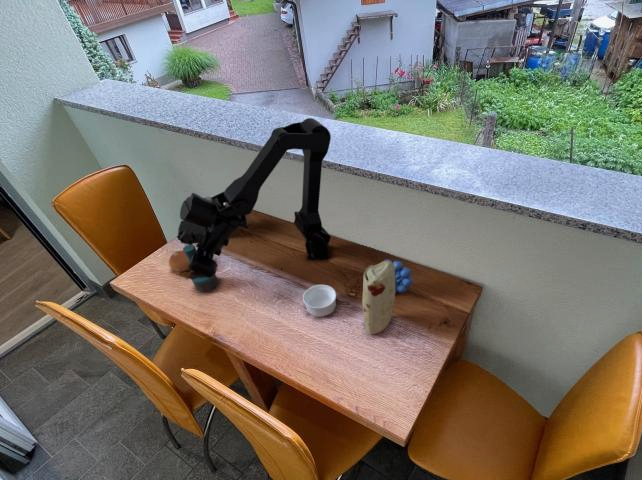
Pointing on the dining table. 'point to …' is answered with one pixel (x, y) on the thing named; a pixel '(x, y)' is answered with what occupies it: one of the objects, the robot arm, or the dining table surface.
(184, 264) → the burger
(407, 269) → the grapes
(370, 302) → the food model
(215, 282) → the teal peg stand
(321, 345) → the dining table surface
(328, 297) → the ramekin
